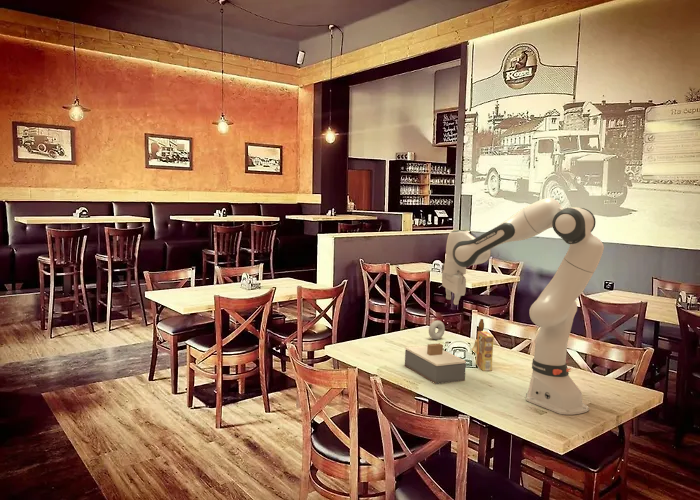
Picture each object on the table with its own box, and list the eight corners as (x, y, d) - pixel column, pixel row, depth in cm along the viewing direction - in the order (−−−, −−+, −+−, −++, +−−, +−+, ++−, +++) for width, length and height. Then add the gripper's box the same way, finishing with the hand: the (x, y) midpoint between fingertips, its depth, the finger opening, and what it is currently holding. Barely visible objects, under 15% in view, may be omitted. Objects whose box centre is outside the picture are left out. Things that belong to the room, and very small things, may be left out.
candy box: (492, 371, 231) (494, 336, 229) (482, 371, 230) (485, 336, 228) (484, 364, 239) (486, 330, 238) (475, 364, 239) (477, 330, 237)
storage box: (464, 380, 217) (465, 363, 216) (435, 384, 211) (436, 367, 211) (432, 362, 239) (432, 347, 238) (404, 365, 233) (405, 349, 232)
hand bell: (478, 348, 265) (480, 316, 264) (491, 352, 258) (493, 320, 257) (466, 350, 260) (468, 318, 259) (479, 355, 254) (481, 321, 252)
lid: (465, 363, 216) (466, 351, 216) (436, 366, 211) (437, 354, 210) (432, 346, 238) (433, 336, 238) (405, 349, 232) (406, 338, 232)
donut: (441, 337, 283) (442, 318, 282) (445, 339, 280) (446, 320, 279) (426, 339, 277) (427, 320, 276) (431, 341, 275) (432, 322, 274)
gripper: (471, 273, 212) (468, 307, 214) (454, 265, 232) (451, 296, 234) (455, 272, 211) (452, 307, 213) (440, 264, 231) (437, 296, 233)
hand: (452, 301), depth 224 cm, fingers open, 8 cm apart
